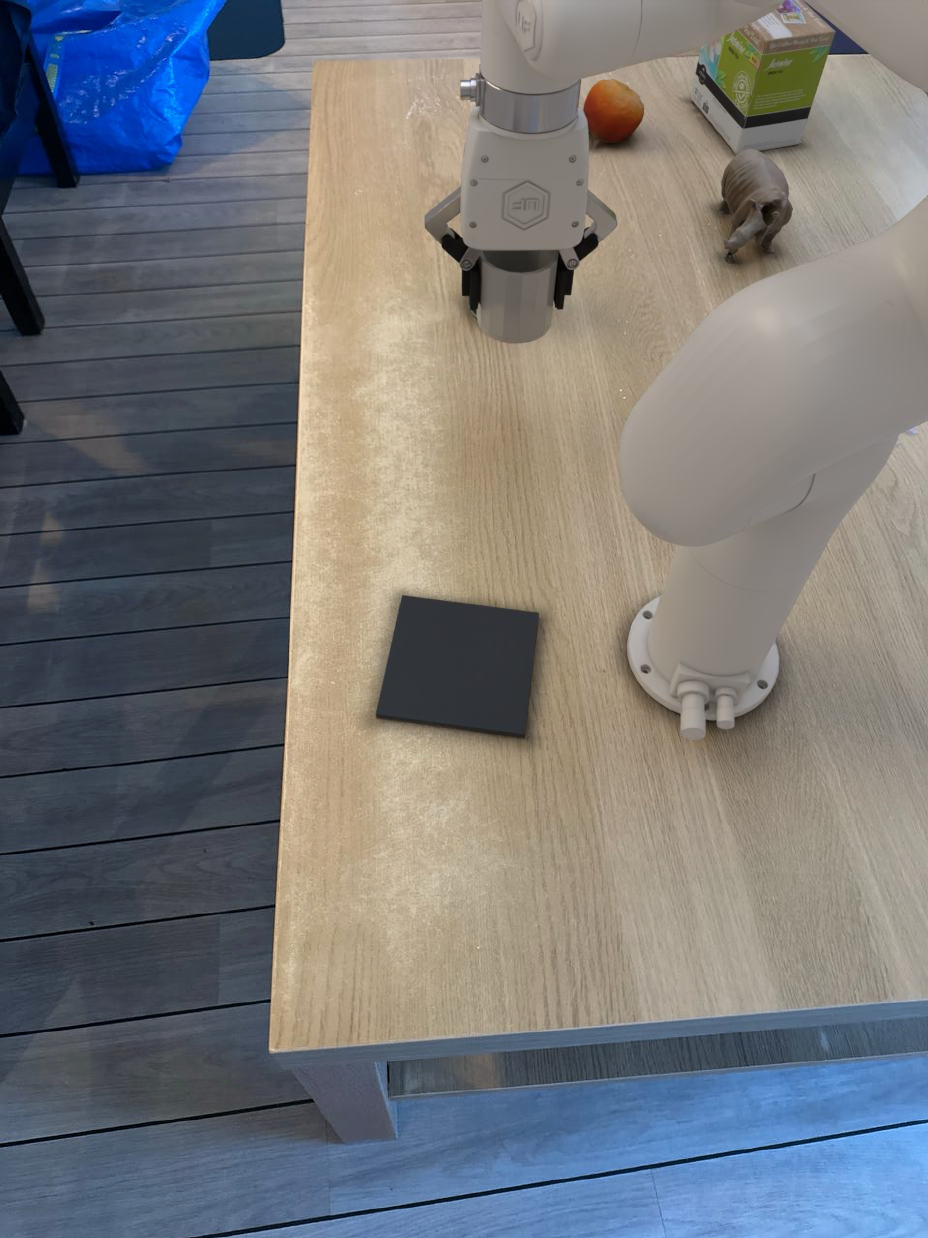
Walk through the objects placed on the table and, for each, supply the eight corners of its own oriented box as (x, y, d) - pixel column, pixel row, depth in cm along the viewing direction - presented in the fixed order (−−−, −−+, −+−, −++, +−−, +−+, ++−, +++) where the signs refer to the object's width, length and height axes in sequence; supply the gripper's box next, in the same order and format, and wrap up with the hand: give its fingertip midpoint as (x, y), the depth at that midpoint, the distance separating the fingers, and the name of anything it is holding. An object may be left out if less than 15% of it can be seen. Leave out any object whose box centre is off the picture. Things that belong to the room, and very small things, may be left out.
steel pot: (547, 347, 85) (554, 278, 80) (472, 339, 86) (474, 270, 80) (554, 301, 89) (561, 232, 84) (482, 294, 90) (484, 225, 84)
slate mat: (524, 738, 76) (524, 734, 76) (376, 717, 77) (375, 714, 76) (538, 616, 83) (539, 612, 83) (402, 598, 84) (401, 594, 83)
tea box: (686, 100, 135) (711, -18, 122) (750, 91, 137) (781, -26, 124) (734, 156, 126) (766, 36, 114) (801, 146, 128) (840, 27, 116)
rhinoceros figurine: (781, 179, 119) (807, 117, 104) (771, 290, 119) (796, 243, 104) (717, 178, 120) (734, 116, 105) (707, 287, 120) (722, 241, 105)
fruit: (557, 119, 128) (591, 59, 123) (597, 139, 133) (631, 82, 128) (587, 149, 124) (623, 89, 119) (626, 168, 129) (663, 111, 124)
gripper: (413, 121, 69) (419, 327, 84) (651, 121, 70) (616, 325, 84) (412, 73, 74) (418, 276, 88) (637, 72, 74) (606, 275, 89)
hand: (515, 299), depth 86 cm, fingers closed on steel pot, 7 cm apart
